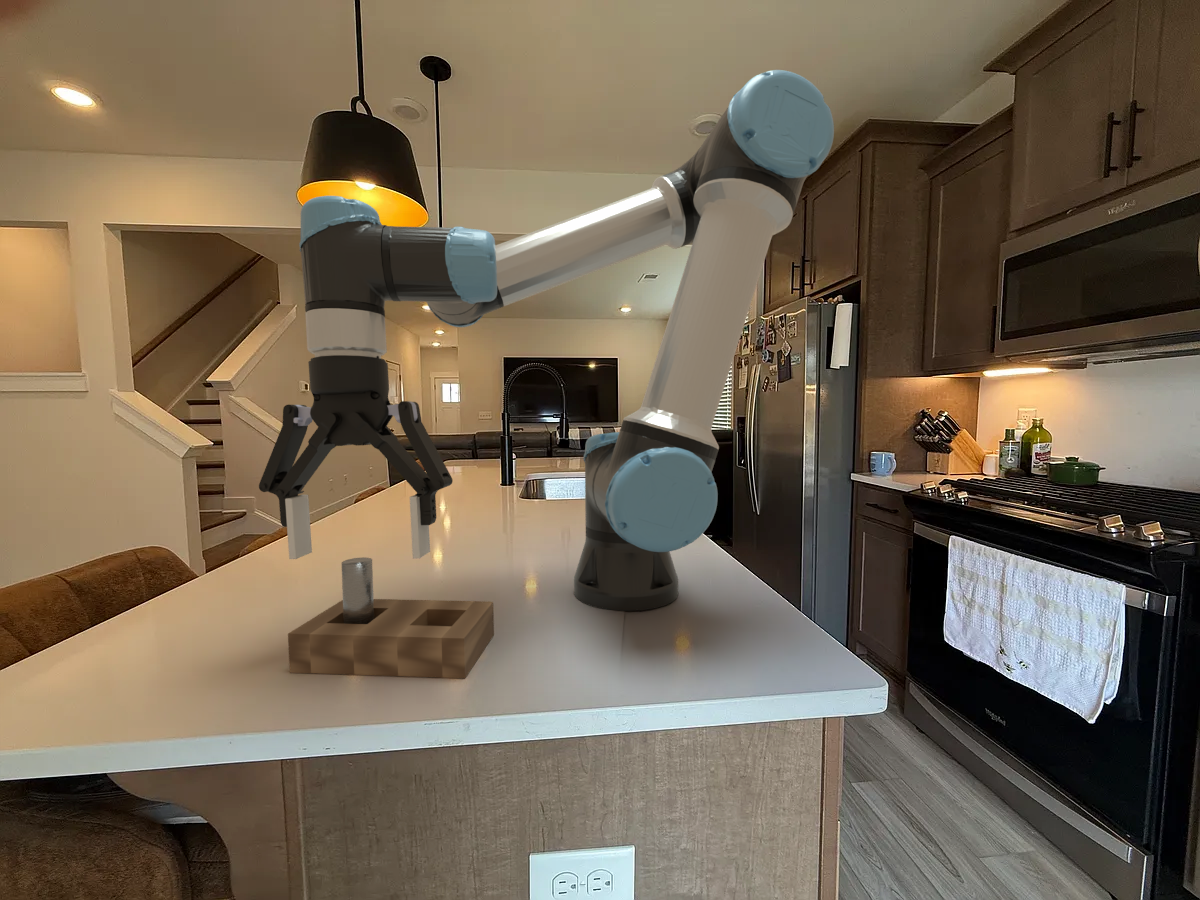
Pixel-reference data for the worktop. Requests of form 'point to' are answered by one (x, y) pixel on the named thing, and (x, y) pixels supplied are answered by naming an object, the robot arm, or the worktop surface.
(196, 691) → the worktop surface
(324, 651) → the socket block
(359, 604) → the peg
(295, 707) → the worktop surface
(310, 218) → the robot arm
